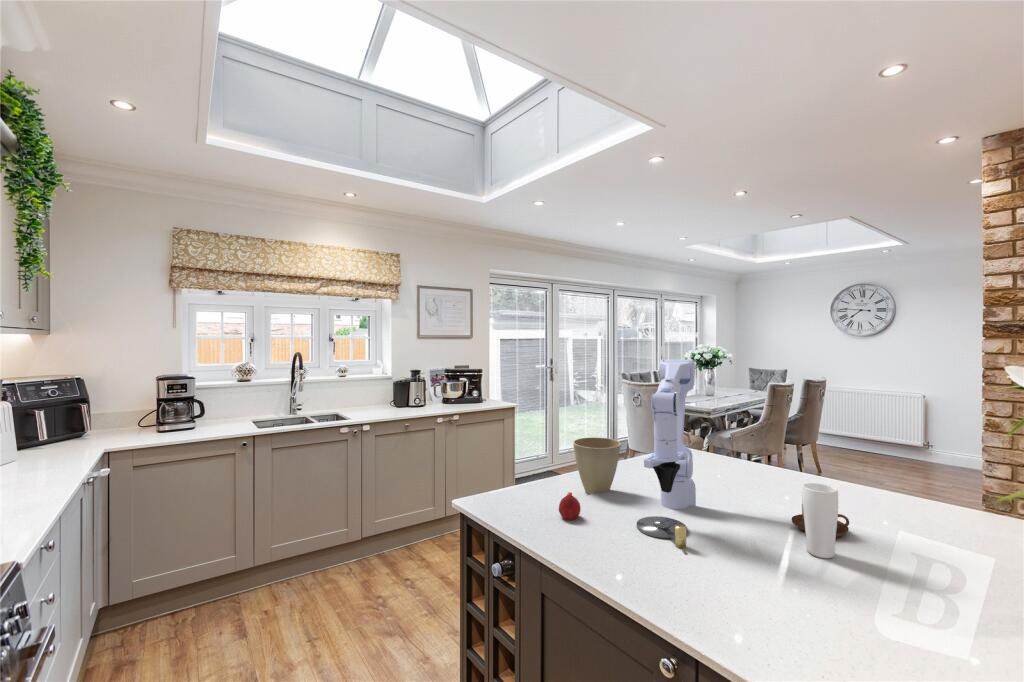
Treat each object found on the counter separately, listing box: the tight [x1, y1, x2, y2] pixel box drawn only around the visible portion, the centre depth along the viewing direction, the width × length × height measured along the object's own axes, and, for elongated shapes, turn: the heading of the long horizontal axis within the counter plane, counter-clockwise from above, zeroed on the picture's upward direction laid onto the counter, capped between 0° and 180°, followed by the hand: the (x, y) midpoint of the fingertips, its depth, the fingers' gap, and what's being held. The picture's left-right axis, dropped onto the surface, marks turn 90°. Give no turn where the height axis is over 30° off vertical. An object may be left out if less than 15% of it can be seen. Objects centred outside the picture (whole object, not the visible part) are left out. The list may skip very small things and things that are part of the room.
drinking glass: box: [801, 482, 839, 559], centre depth 105 cm, size 7×7×15 cm
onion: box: [558, 491, 582, 521], centre depth 125 cm, size 6×6×8 cm
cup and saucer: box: [791, 502, 850, 537], centre depth 117 cm, size 12×12×6 cm
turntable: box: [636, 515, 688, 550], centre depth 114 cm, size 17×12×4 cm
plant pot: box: [572, 436, 621, 495], centre depth 149 cm, size 15×15×16 cm
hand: (666, 491), depth 120 cm, fingers closed
